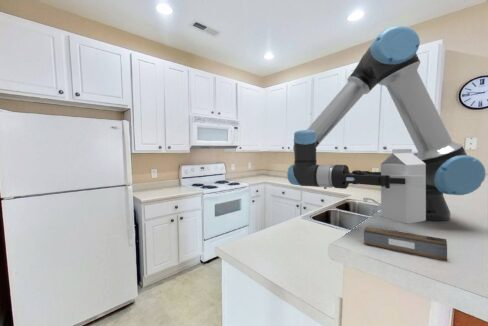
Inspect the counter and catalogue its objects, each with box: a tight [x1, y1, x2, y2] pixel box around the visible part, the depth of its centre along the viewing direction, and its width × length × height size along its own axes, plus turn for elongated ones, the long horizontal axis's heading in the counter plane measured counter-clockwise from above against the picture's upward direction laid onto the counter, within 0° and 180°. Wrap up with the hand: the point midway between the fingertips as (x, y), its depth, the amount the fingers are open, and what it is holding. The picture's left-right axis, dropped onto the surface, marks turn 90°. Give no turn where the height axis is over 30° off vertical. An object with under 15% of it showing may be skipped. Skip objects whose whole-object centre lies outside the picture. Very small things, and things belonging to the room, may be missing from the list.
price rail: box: [363, 226, 448, 262], centre depth 53 cm, size 3×16×4 cm, turn 50°
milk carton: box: [380, 148, 427, 225], centre depth 59 cm, size 7×7×19 cm
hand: (423, 179), depth 56 cm, fingers closed on milk carton, 10 cm apart
